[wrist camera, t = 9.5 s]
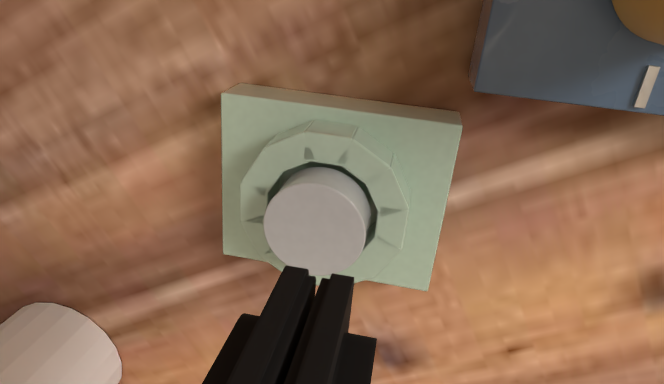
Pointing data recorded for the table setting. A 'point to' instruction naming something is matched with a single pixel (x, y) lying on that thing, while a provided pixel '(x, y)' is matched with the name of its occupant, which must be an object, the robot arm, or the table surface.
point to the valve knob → (642, 18)
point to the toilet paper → (56, 348)
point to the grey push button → (318, 221)
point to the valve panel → (566, 55)
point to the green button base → (347, 157)
